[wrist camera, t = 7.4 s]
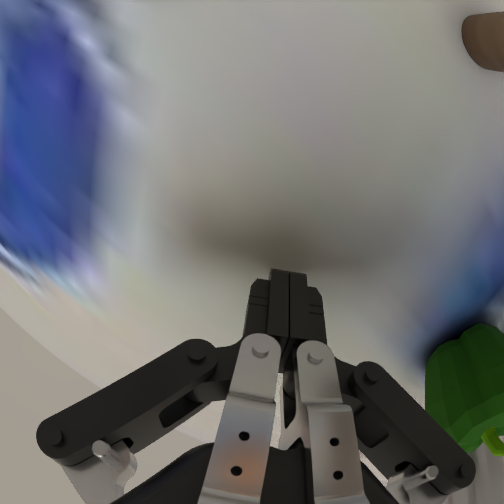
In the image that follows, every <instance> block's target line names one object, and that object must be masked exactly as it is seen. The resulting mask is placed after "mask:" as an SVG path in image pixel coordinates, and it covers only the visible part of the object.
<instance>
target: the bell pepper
mask: <svg viewBox="0 0 504 504" xmlns="http://www.w3.org/2000/svg"><path fill="white" fill-rule="evenodd" d="M425 411H426V412H427V413H428V414H429V415H430V416H431V417H432V418H433V419H434V420H435V421H436V422H437V423H438V424H439V425H440V426H441V427H442V428H443V429H444V430H445V431H446V432H447V433H448V434H449V435H450V436H451V437H452V438H453V439H454V440H455V442H456V443H457V444H458V445H459V446H460V447H461V448H462V449H463V450H464V451H465V452H466V453H471V452H474V451H475V450H476V449H477V448H478V447H479V446H480V445H481V444H482V443H483V442H484V443H485V445H486V446H487V447H488V449H489V450H490V452H491V453H492V454H493V456H504V443H503V442H502V441H501V439H500V438H499V437H498V436H504V334H503V333H502V332H501V331H500V330H499V329H497V328H496V327H494V326H491V325H488V324H480V323H478V324H476V325H474V326H473V327H471V328H469V329H467V330H466V331H464V332H463V334H462V335H461V336H460V338H459V339H456V340H451V341H448V342H446V343H444V344H442V345H440V346H438V347H437V349H436V350H435V351H434V352H433V354H432V355H431V356H430V357H429V360H428V362H427V365H426V375H425Z"/></svg>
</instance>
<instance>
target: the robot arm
mask: <svg viewBox="0 0 504 504" xmlns="http://www.w3.org/2000/svg"><path fill="white" fill-rule="evenodd" d="M278 373H283V383H282V385H281V387H280V411H281V435H280V439H279V446H278V449H277V448H274V447H271V446H270V441H271V435H272V429H273V423H274V416H275V409H276V402H274V398H275V391H276V384H277V377H278ZM220 400H226V401H225V405H224V409H223V413H222V416H221V420H220V424H219V428H218V432H217V435H216V439H215V442H213V443H207V444H203V445H200V446H197V447H195V448H192V449H191V450H189V451H187V452H185V453H184V454H182V455H181V456H180V457H178V458H177V459H176V460H174V461H173V462H172V463H170V464H169V465H168V466H166V467H165V468H164V469H162V470H161V471H159V472H158V473H156V474H155V475H153V476H152V477H150V478H149V479H148V480H146V481H145V482H143V483H142V484H140V485H139V486H137V487H135V488H134V489H132V490H131V491H129V492H128V493H126V494H124V486H125V483H126V482H127V481H128V480H129V479H130V478H131V477H132V476H133V475H134V474H135V472H136V470H137V460H136V458H135V455H134V454H135V453H137V452H139V451H140V450H142V449H144V448H145V447H147V446H148V445H150V444H151V443H153V442H155V441H156V440H158V439H159V438H161V437H162V436H164V435H165V434H167V433H168V432H170V431H171V430H173V429H174V428H176V427H177V426H179V425H180V424H182V423H183V422H185V421H186V420H188V419H189V418H190V417H192V416H193V415H195V414H196V413H198V412H199V411H200V410H202V409H203V408H205V407H206V406H207V405H209V404H210V403H211V402H212V401H220ZM498 437H499V438H500V439H501V441H502V442H503V443H504V436H498ZM36 438H37V443H38V445H39V447H40V449H41V450H42V451H43V453H45V454H46V455H47V456H49V457H50V458H52V459H53V460H55V461H56V462H57V463H58V464H60V465H61V466H62V468H63V470H64V471H65V473H66V475H67V476H68V478H69V479H70V481H71V483H72V484H73V486H74V487H75V489H76V490H77V492H78V493H79V495H80V496H81V498H82V499H83V500H84V501H85V503H86V504H504V456H493V454H492V453H491V452H490V450H489V449H488V447H487V446H486V445H485V443H484V442H483V443H482V444H481V445H480V446H479V447H478V448H477V449H476V450H475V451H474V452H471V453H466V452H465V451H464V450H463V449H462V448H461V447H460V446H459V445H458V444H457V443H456V442H455V440H454V439H453V438H452V437H451V436H450V435H449V434H448V433H447V432H446V431H445V430H444V429H443V428H442V427H441V426H440V425H439V424H438V423H437V422H436V421H435V420H434V419H433V418H432V417H431V416H430V415H429V414H428V413H427V412H426V411H425V410H424V409H423V408H422V407H421V406H420V405H419V404H418V403H417V402H416V401H415V400H414V399H413V398H412V397H411V396H410V395H409V394H408V393H407V392H406V391H405V390H404V389H403V388H402V387H401V386H400V385H399V384H398V383H397V382H396V381H395V380H394V379H393V378H392V377H391V376H390V375H389V374H388V373H387V372H386V371H385V370H384V369H383V368H382V367H381V366H380V365H378V364H377V363H374V362H370V361H365V362H362V363H360V364H358V365H357V366H353V365H351V364H348V363H345V362H343V361H341V360H339V359H337V358H336V357H335V356H334V354H333V352H332V350H331V349H330V348H329V347H328V346H327V339H326V329H325V320H324V311H323V302H322V296H321V295H320V293H319V292H318V290H317V288H315V287H308V286H307V276H306V274H302V273H296V272H290V271H289V273H288V271H283V270H277V269H271V271H270V275H269V279H268V280H264V279H258V278H257V279H256V281H255V282H254V283H253V284H252V285H251V289H250V295H249V300H248V305H247V311H246V317H245V324H244V331H243V337H242V338H241V340H240V341H238V342H237V343H236V344H234V345H231V346H227V347H218V348H215V347H214V346H213V345H212V344H211V343H209V342H208V341H205V340H202V339H190V340H187V341H185V342H183V343H181V344H180V345H178V346H176V347H175V348H173V349H171V350H170V351H168V352H166V353H165V354H163V355H161V356H159V357H158V358H156V359H154V360H153V361H151V362H149V363H148V364H146V365H144V366H142V367H141V368H139V369H137V370H135V371H134V372H132V373H130V374H128V375H127V376H125V377H123V378H121V379H120V380H118V381H116V382H114V383H112V384H111V385H109V386H107V387H105V388H103V389H102V390H100V391H98V392H96V393H94V394H92V395H91V396H89V397H87V398H85V399H83V400H81V401H79V402H78V403H76V404H74V405H72V406H70V407H68V408H66V409H64V410H62V411H61V412H59V413H57V414H55V415H53V416H51V417H49V418H47V419H45V420H44V421H42V422H41V424H40V425H39V427H38V429H37V433H36ZM359 450H360V451H361V452H362V453H363V454H364V455H365V456H366V457H367V458H368V459H369V460H370V462H371V463H372V464H373V465H374V466H375V467H376V468H377V469H378V470H379V471H380V472H381V473H382V474H383V475H384V476H385V477H386V478H387V479H388V483H387V486H386V488H385V487H384V486H383V485H382V483H381V482H380V481H379V480H378V479H377V478H376V477H375V475H374V474H373V473H372V472H371V471H370V470H369V469H368V467H367V466H366V465H365V464H364V463H363V462H361V461H360V456H359Z"/></svg>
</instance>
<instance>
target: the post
mask: <svg viewBox="0 0 504 504" xmlns="http://www.w3.org/2000/svg"><path fill="white" fill-rule="evenodd" d="M462 37H463V41H464V44H465V47H466V49H467V51H468V53H469V55H470V56H471V57H472V59H473V60H474V61H475V62H476V63H477V64H478V65H479V66H481V67H483V68H485V69H488V70H494V71H500V72H504V12H496V13H486V14H478V15H472V16H469V17H467V18H466V19H465V21H464V22H463V26H462Z"/></svg>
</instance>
